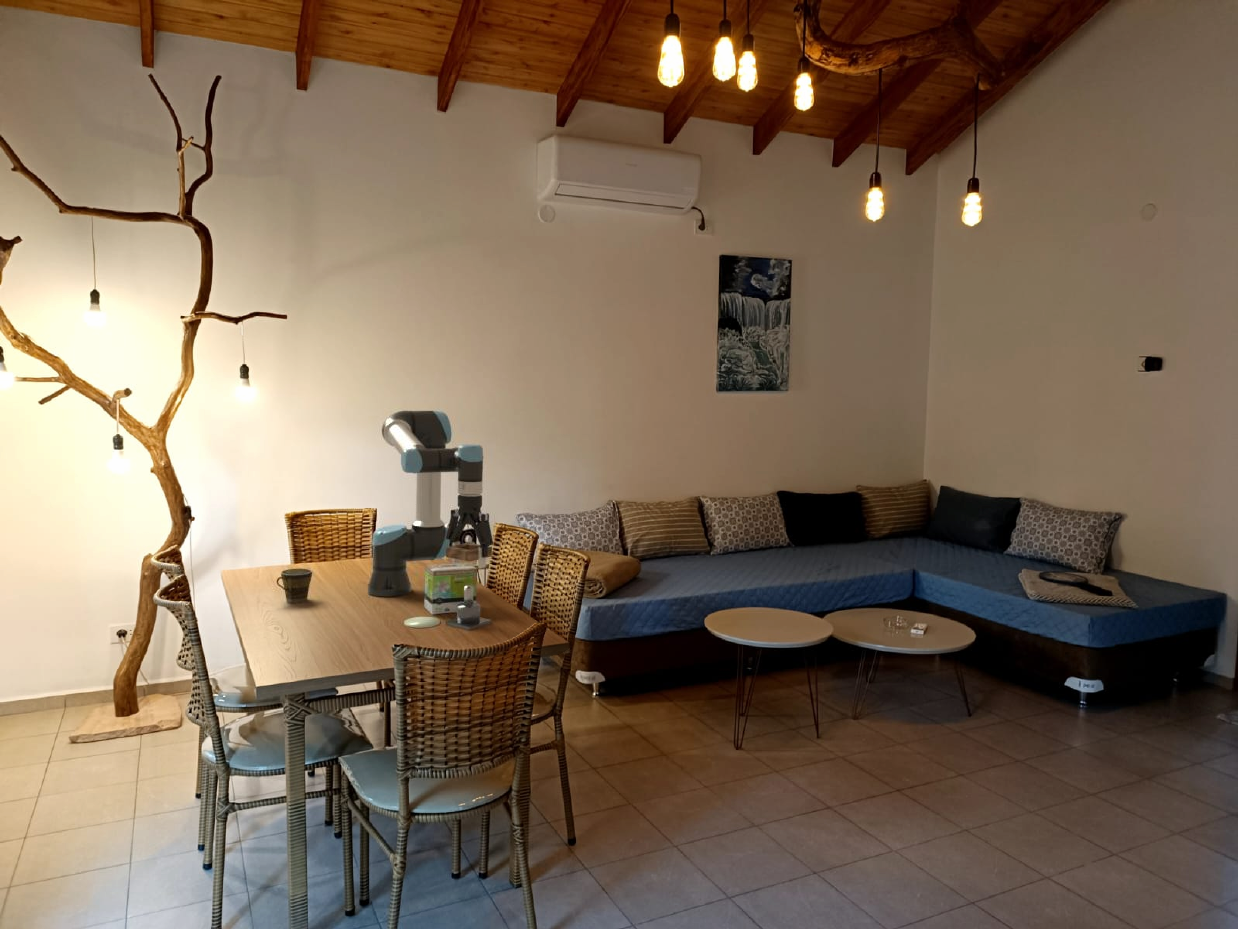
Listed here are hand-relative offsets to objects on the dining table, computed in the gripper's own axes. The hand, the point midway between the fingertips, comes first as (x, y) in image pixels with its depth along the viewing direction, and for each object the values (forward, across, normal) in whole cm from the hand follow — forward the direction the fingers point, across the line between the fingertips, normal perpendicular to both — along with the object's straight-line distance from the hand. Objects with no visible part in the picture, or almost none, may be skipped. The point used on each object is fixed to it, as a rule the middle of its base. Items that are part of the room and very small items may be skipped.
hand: (468, 565), depth 270 cm
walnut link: (-3, 0, 0) cm, 3 cm away
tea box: (+19, -16, +9) cm, 26 cm away
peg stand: (+19, 0, 0) cm, 19 cm away
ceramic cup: (+19, -64, -16) cm, 69 cm away
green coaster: (+19, -12, -8) cm, 24 cm away
